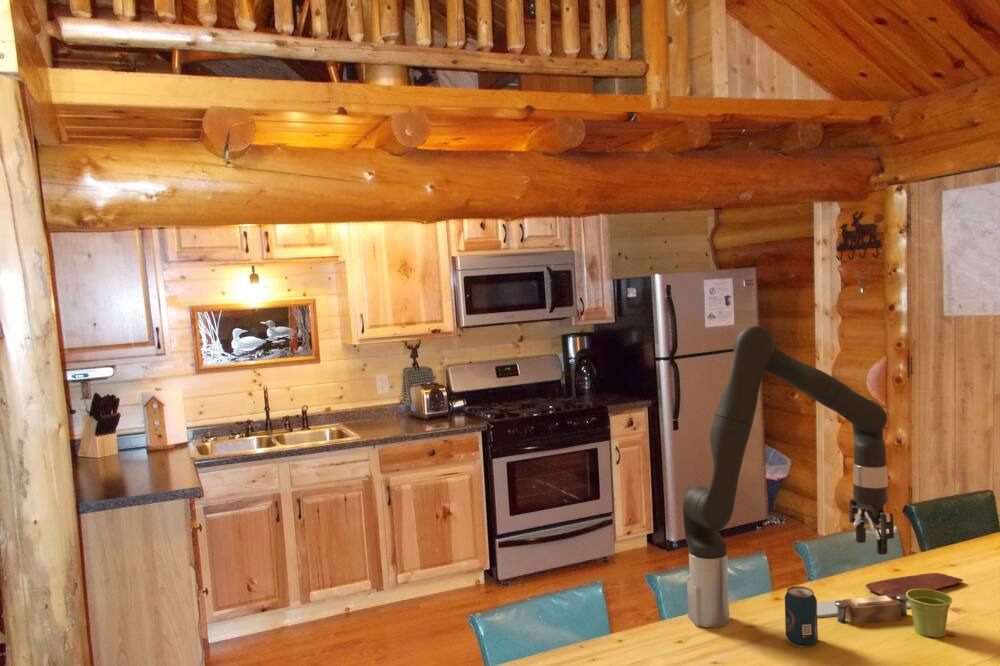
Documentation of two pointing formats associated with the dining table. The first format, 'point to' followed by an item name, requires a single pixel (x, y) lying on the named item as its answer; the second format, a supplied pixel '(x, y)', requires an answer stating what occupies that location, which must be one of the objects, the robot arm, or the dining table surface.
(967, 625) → the dining table surface
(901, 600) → the metal bolt
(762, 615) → the dining table surface
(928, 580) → the brown flat slab
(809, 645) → the soda can
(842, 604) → the metal screw
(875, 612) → the wooden box
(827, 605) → the wall strip
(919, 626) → the plant pot
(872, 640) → the dining table surface
